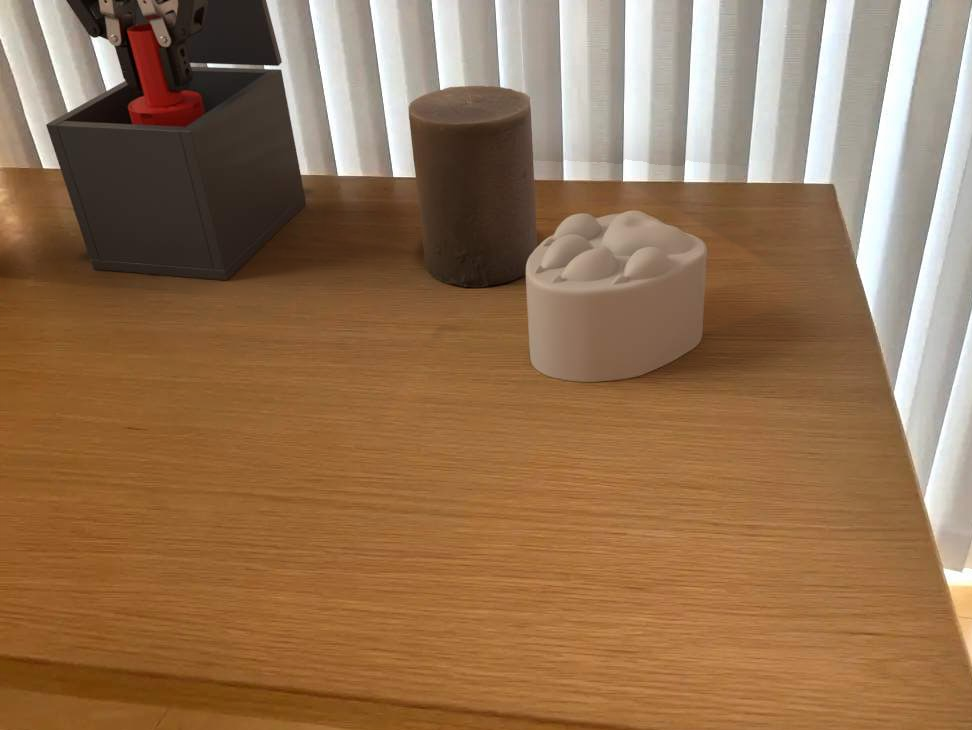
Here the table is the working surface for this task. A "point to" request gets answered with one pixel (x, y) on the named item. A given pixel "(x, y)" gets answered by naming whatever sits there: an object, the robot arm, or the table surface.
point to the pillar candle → (475, 183)
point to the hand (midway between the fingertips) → (160, 88)
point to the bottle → (158, 86)
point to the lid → (232, 34)
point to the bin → (182, 176)
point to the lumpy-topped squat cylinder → (614, 297)
